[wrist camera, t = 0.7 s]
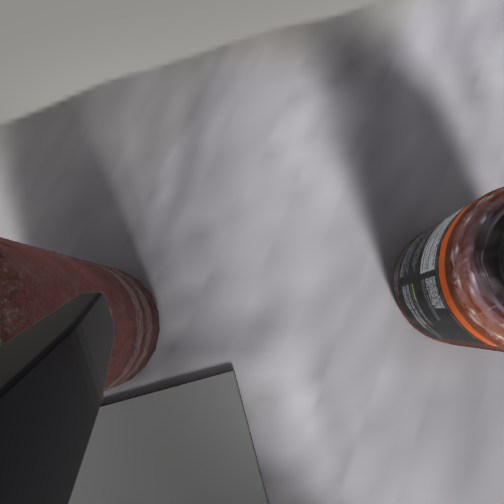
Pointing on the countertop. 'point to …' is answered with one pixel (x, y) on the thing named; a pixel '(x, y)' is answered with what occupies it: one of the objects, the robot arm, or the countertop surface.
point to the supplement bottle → (457, 277)
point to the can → (68, 287)
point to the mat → (173, 449)
